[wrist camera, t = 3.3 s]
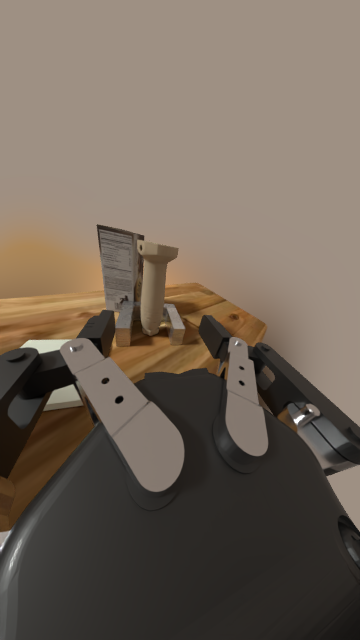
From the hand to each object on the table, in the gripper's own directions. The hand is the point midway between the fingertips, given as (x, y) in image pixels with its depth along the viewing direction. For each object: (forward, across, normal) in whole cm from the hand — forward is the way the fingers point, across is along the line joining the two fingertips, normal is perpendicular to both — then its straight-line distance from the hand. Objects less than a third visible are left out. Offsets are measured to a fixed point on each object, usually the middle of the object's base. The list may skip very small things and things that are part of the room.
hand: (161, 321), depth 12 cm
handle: (+11, 0, +9) cm, 14 cm away
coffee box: (+22, +6, +9) cm, 25 cm away
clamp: (+11, 0, +9) cm, 14 cm away
